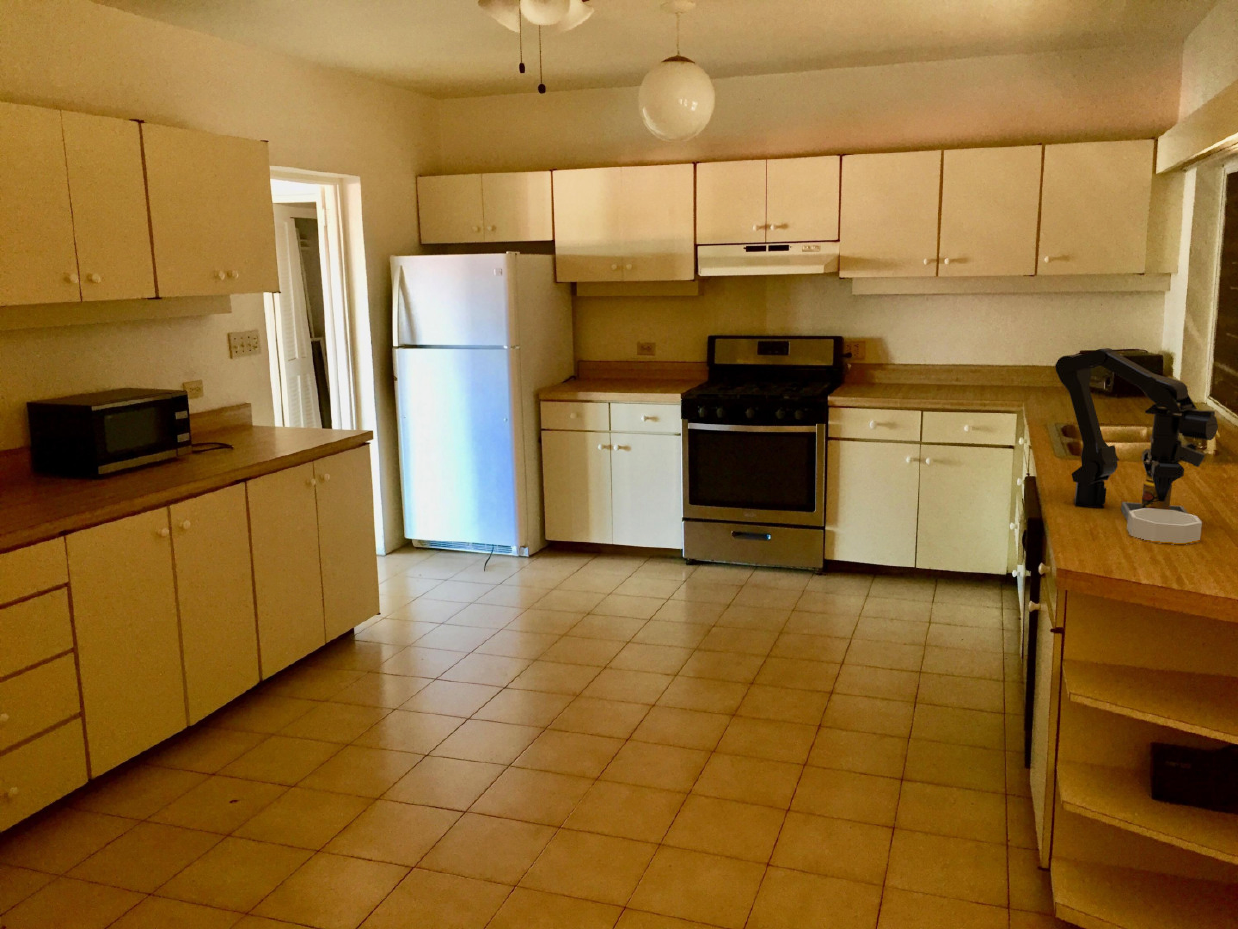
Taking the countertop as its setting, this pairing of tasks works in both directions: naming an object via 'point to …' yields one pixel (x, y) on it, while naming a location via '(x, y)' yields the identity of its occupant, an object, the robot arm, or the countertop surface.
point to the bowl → (1164, 525)
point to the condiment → (1153, 495)
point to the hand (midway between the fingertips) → (1158, 497)
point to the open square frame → (1134, 506)
